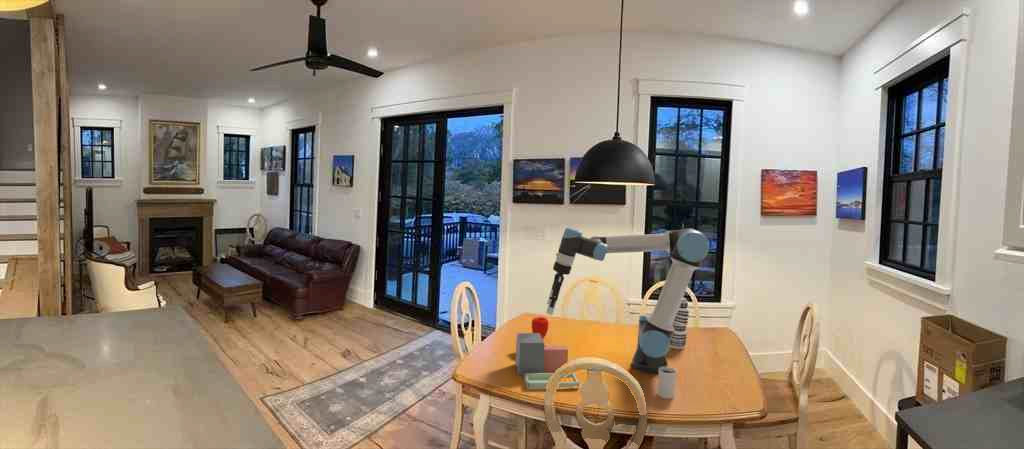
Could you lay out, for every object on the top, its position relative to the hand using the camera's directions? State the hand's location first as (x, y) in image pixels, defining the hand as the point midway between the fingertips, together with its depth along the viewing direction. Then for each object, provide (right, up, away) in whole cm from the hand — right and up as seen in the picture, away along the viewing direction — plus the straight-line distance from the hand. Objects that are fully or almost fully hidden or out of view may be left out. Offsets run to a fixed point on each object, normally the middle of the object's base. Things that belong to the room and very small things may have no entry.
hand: (549, 309), depth 201 cm
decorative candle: (+67, -25, +33) cm, 79 cm away
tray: (-1, -26, -18) cm, 32 cm away
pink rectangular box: (-1, -25, -4) cm, 26 cm away
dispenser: (-9, -25, -5) cm, 27 cm away
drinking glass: (+43, -29, -24) cm, 57 cm away
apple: (-2, -22, +36) cm, 42 cm away
